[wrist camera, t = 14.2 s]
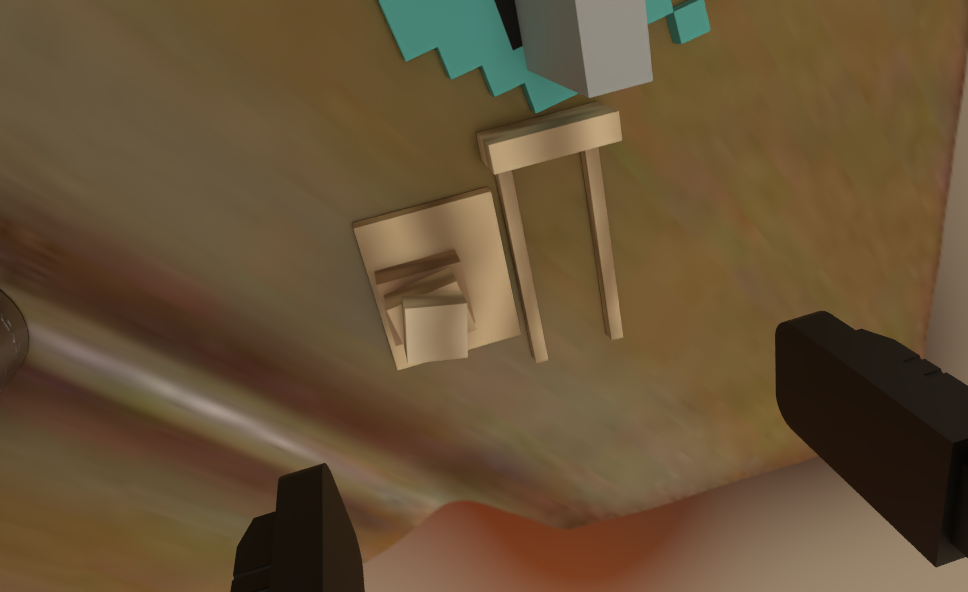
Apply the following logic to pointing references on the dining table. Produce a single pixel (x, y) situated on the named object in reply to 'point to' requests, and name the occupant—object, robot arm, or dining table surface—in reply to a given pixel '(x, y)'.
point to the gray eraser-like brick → (586, 43)
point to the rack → (477, 233)
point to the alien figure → (503, 39)
